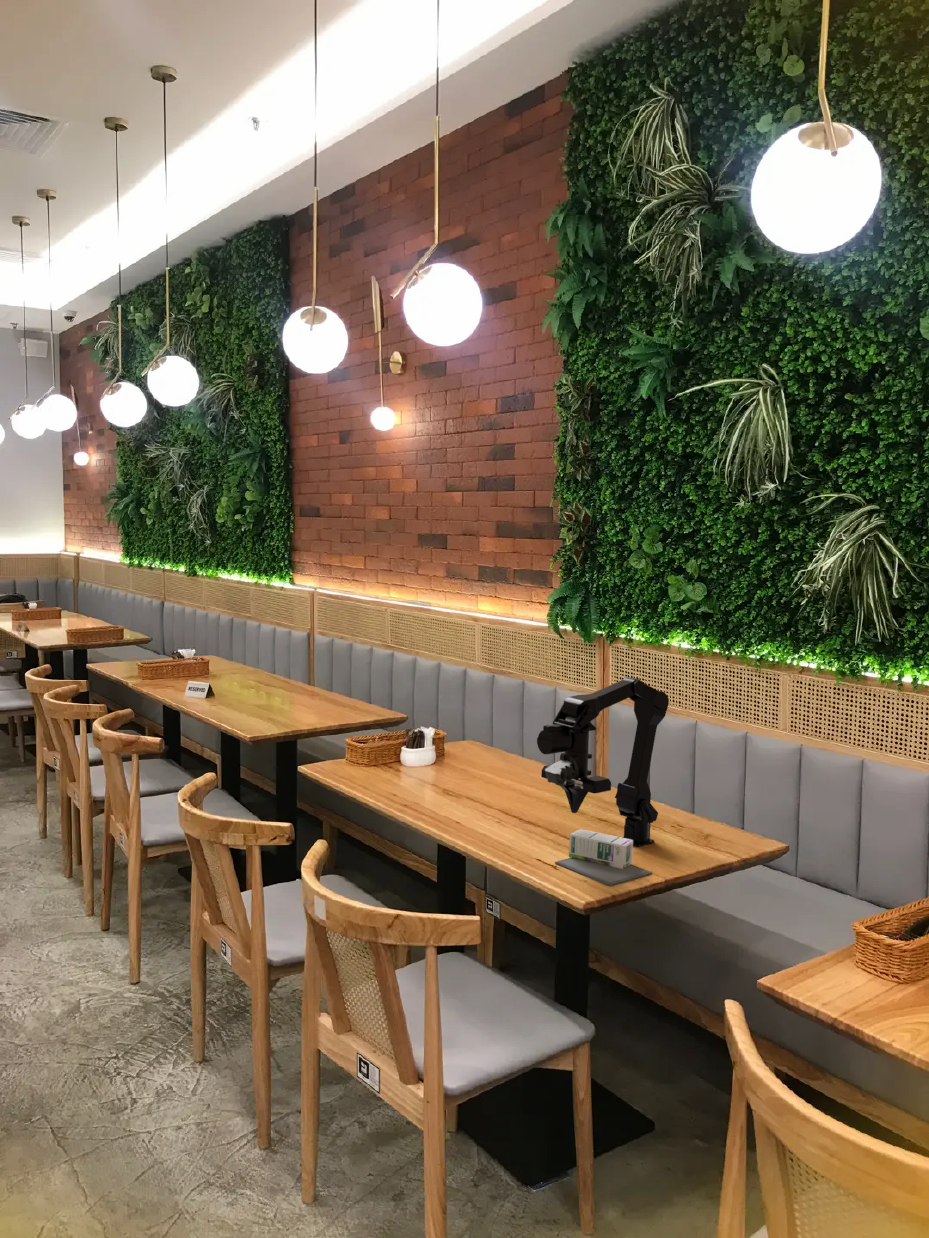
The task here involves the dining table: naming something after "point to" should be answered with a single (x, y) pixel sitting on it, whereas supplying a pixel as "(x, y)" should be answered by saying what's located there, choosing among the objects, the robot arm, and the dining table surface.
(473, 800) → the dining table surface
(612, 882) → the mat
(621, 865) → the syrup box
